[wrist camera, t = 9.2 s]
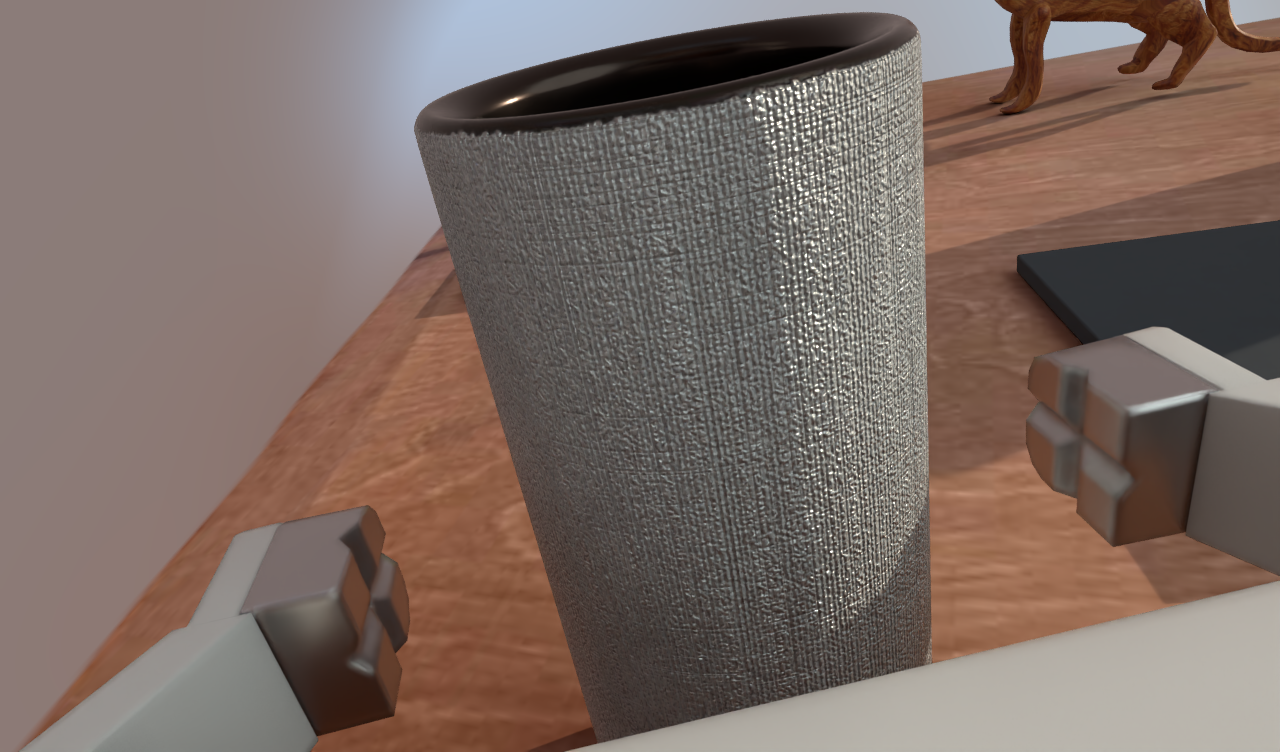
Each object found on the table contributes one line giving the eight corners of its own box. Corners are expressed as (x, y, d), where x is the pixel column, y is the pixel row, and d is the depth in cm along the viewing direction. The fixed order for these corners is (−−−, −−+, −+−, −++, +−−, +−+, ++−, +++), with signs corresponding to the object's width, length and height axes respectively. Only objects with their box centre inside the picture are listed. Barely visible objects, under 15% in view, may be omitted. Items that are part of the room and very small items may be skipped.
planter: (979, 946, 10) (1003, 38, 5) (611, 962, 10) (325, 158, 6) (893, 655, 14) (863, -2, 9) (632, 678, 14) (475, 71, 10)
